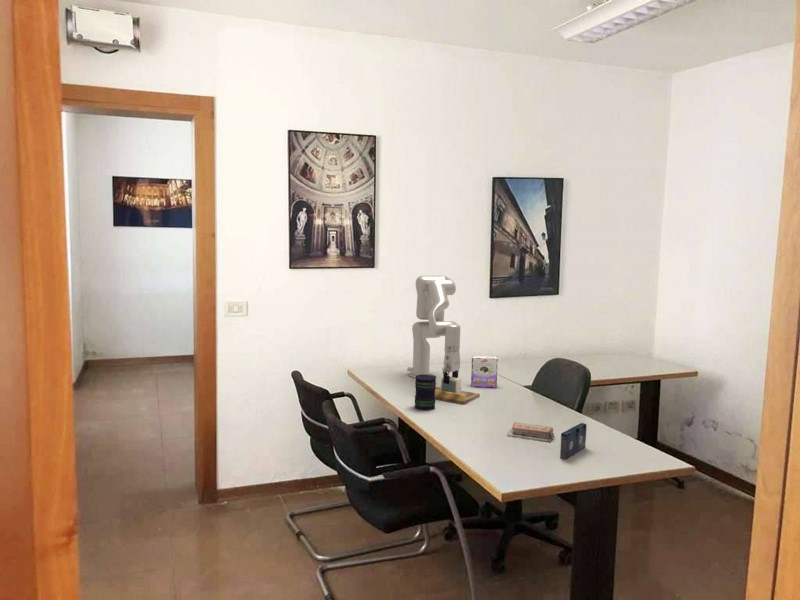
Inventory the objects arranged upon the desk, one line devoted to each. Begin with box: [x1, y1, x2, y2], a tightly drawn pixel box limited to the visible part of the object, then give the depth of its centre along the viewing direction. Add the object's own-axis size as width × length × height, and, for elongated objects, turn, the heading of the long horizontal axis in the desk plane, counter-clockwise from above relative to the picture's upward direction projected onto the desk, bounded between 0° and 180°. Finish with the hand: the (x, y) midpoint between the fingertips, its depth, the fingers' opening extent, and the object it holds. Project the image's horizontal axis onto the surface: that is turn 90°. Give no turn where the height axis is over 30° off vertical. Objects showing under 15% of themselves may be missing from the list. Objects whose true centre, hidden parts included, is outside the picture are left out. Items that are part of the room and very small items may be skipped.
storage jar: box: [414, 374, 437, 412], centre depth 307 cm, size 10×10×15 cm
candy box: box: [470, 355, 498, 389], centre depth 351 cm, size 14×6×16 cm, turn 84°
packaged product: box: [506, 421, 555, 443], centre depth 270 cm, size 18×5×10 cm
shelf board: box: [435, 386, 481, 405], centre depth 329 cm, size 24×18×4 cm
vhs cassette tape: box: [559, 422, 588, 461], centre depth 250 cm, size 18×3×10 cm, turn 140°
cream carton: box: [440, 376, 462, 394], centre depth 328 cm, size 5×9×8 cm, turn 59°
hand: (450, 381), depth 328 cm, fingers open, 9 cm apart
